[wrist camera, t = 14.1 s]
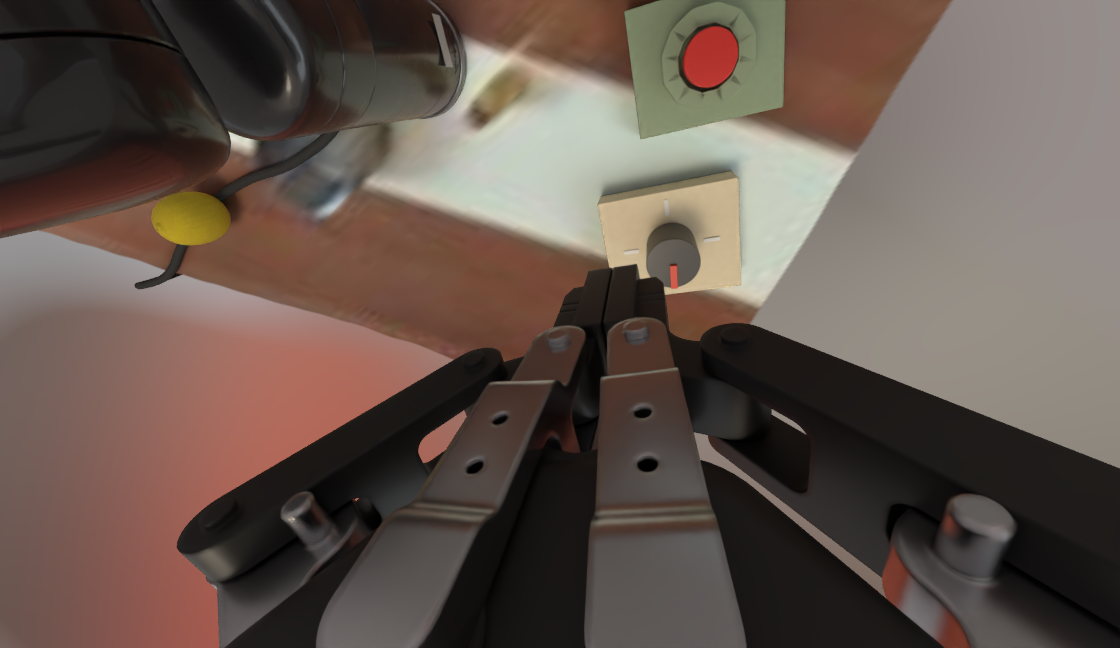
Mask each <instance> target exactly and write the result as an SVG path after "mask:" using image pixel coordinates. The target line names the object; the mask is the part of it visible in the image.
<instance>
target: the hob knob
mask: <svg viewBox="0 0 1120 648" xmlns="http://www.w3.org/2000/svg"><path fill="white" fill-rule="evenodd" d="M700 265H701V258H700V254H699V251H698V247H697V244H696V241H695V237H694V235H693V233H692V232H691V230H690V229H689V228H688V227H686V226H684V225H682V224H679V223H666V224H663V225H660V226H659V227H657V228H656V229H655V230H654V231H653V232H652V233H651V234H650V236H649V238H648V240H647V245H646V267H647V272H648V274H649V276H650V277H657V278H658V279H659V280H661V281H662V282H663V283H664V287H669V288H671V289H677V288H678V287H680V286H683V285H685V284H687V283H689V282H690V281H691V280H692V279H694V277H695V276H696V275H697V273H698V271H699V269H700Z"/></svg>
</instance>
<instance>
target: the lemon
mask: <svg viewBox="0 0 1120 648" xmlns="http://www.w3.org/2000/svg"><path fill="white" fill-rule="evenodd" d="M151 219H152V223H153V226H154V228H155V230H156V231H157V232H158V233H159V234H160V235H161V236H163V237H164V238H166V239H167V240H169V241H171V242H174V243H177V244H181V245H200V244H204V243H208V242H212V241H214V240H216V239H218V238H220V237H221V236H222V235H224V234H225V233H226V232H227V230H228V228H229V226H230V214H229V211H228V210H227V208H226V207H225V205H224V204H223V203H222V202H221V201H219V200H218V199H216V198H215V197H213V196H211V195H208V194H206V193H201V192H194V191H191V192H181V193H176V194H173V195H170V196H168V197H167V198H165V199H163V200H161V201H160V202H158V203H157V204H156V206H155V207H154V209H153V211H152V215H151Z"/></svg>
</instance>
